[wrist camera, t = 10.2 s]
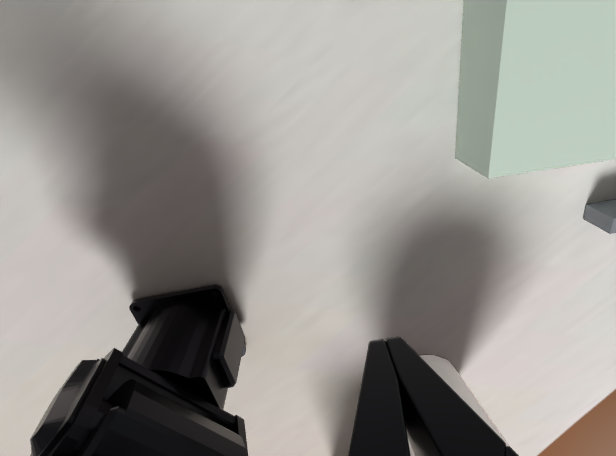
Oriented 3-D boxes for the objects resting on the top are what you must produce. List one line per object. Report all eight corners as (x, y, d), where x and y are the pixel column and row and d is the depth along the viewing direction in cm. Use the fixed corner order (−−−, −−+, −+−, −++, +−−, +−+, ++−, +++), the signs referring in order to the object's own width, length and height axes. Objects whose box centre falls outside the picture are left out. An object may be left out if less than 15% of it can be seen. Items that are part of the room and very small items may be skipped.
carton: (452, 156, 19) (488, 178, 16) (462, -35, 15) (513, -65, 12) (629, 129, 19) (706, 145, 15) (687, -75, 15) (813, -119, 11)
